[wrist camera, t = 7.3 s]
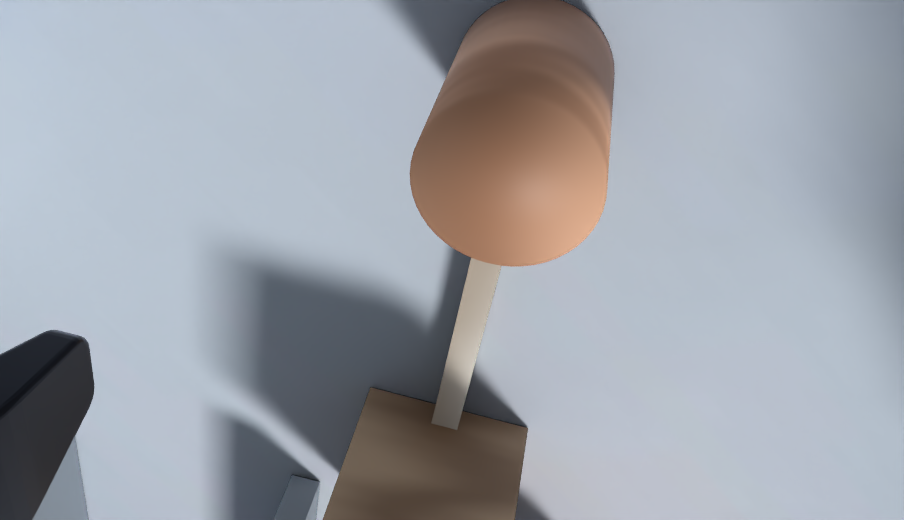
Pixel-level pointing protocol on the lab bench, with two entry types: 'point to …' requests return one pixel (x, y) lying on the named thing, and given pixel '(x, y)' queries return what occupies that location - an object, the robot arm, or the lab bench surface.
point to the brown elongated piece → (488, 247)
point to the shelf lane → (67, 510)
